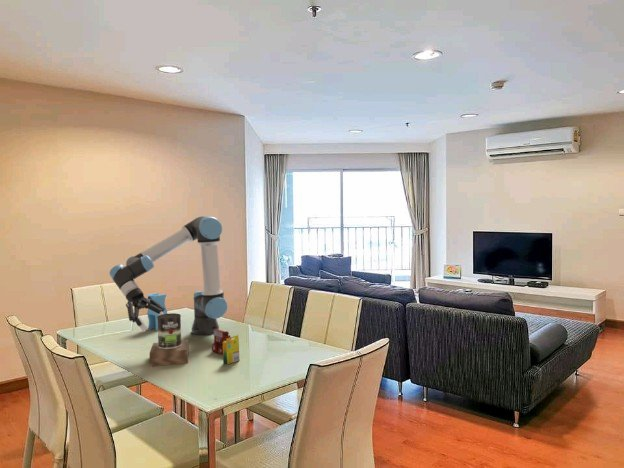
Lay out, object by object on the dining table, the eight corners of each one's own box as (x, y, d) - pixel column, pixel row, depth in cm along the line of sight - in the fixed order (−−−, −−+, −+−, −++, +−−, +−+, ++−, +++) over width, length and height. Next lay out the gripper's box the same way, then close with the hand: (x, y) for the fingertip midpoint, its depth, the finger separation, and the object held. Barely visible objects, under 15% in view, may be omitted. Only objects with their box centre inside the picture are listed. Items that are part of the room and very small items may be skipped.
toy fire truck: (225, 356, 215) (225, 334, 215) (209, 351, 223) (208, 330, 222) (237, 352, 220) (236, 331, 220) (220, 348, 228) (219, 327, 228)
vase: (167, 327, 270) (166, 293, 269) (156, 330, 264) (155, 296, 263) (158, 326, 275) (157, 292, 274) (147, 329, 268) (146, 295, 267)
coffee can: (183, 347, 210) (182, 316, 209) (159, 350, 206) (158, 319, 205) (180, 341, 219) (179, 312, 218) (157, 344, 215) (156, 314, 214)
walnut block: (188, 352, 222) (188, 340, 222) (187, 363, 206) (187, 349, 206) (153, 355, 218) (153, 342, 218) (149, 366, 203) (149, 352, 202)
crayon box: (235, 359, 211) (234, 333, 210) (239, 360, 209) (239, 334, 208) (222, 363, 205) (222, 337, 204) (227, 364, 203) (226, 338, 202)
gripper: (148, 293, 233) (172, 325, 227) (106, 302, 211) (131, 338, 205) (155, 283, 230) (180, 316, 224) (114, 291, 208) (140, 328, 202)
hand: (157, 326), depth 215 cm, fingers open, 13 cm apart
